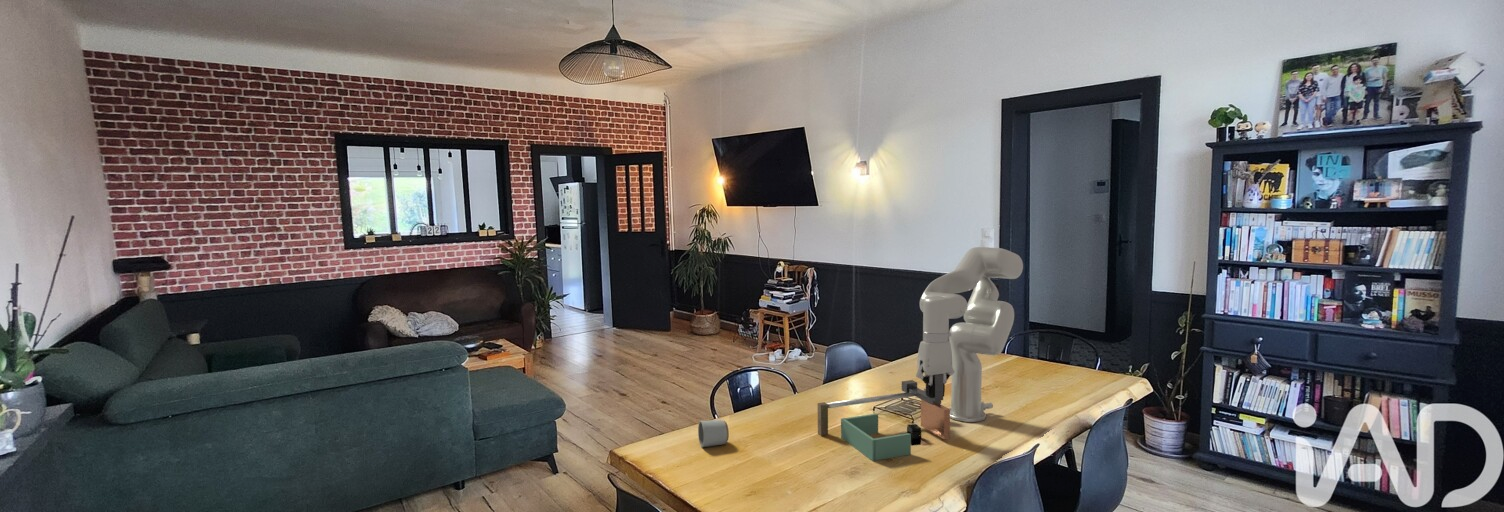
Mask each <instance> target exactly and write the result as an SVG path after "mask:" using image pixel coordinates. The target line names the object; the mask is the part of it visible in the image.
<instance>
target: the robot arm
mask: <svg viewBox="0 0 1504 512" xmlns="http://www.w3.org/2000/svg"><path fill="white" fill-rule="evenodd" d="M1023 269H1024V262H1023V260H1022V258H1021V257H1020V255H1019V254H1017V253H1015V252H1012V251H1011V250H1008V249H1006V248H1005V249H1004V248H1001V247H986V246H985V247H980V246H979V247H972V248H970V249H968V250H967V252H966V253H965V254H964V256H963V257H962V259H961V260H960V262H959V263H958V264H957V265H956V267H955V268H954V270H953V271H950V272H948V273H946V274H943V275H941V276H939V277H937V278H936V279H934V280H932V281H931V282H930V283H929V284H928V285H927V287H926V288H925V290H924V291H923V293H922V295H921V297H920V299H919V309H920V311H921V312H922V314H923V317H922V340H921V341H920V343H919V347H918V352H917V363H916V367H917V368H916V369H917V370H916V371H917V372H916V374H915V377H916V378H918V379H920V380H921V381H923V383H924V384H925V389H926V396H928V397H930V398H934V385H932V383H933V375H939V374H944V377H943V398H944V397H945V393H946V391H945V389H946V387H945V386H946V384H947V383H948V380H949V378H950V377H951V389H950V391H951V395H950V396H951V397H950V404H951V406H950V407H948V408H949V409H950V419H951V420H955V421H958V422H965V423H977V422H982V421H984V420H985V419H986V417H987V414H986V412H985V411H986V410H988V409H992V408H994V404H993V403H992V402H987V403H985V402H984V401H982V386H983V385H982V384H983V383H982V379H983V375H982V372H983V370H982V369H983V368H982V367H983V366H982V363H981V360H980V357H979V355H978V354H980V355H986V356H998V355H1000V354H1001V353H1002V352H1003V350H1004V348H1005V345H1006V344H1007V340H1008V338H1009V335H1010V333H1011V330H1012V328H1013V325H1014V321H1015V309H1014V308H1013V307H1014V306H1013V305H1012V304H1010V303H1009V302H1007V301H1002V300H999V297H1000V293H999V290H998V288H997V286H996V284H995V283H994V282H993V281H992V280H991V278H992V279H1007V280H1015V279H1018V278H1019V277H1020V276H1021V275H1022V273H1023ZM968 291H972V292H971V295H970V298H969V299H968V301H967V300H966V298H965V297H964V296H963V295H961V293H964V292H968ZM961 317H963V320H964V322H956V323H954V324H952V326H951V327H950V324H949V323H950V319H954V320H956V319H959V318H961ZM949 327H950V328H949ZM928 378H929V379H928Z"/></svg>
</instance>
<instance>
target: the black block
mask: <svg viewBox="0 0 1504 512" xmlns="http://www.w3.org/2000/svg"><path fill="white" fill-rule="evenodd" d="M906 433H910V434H911V447H912V446H921V445H922V446H923V445H929V443H928V442H927V441H926V440H925V439H924V438H923V437H922V427H921V426H919V425H918V424H917V423H911V424H907V427H906ZM906 433H903V434H906ZM900 434H901V433H898V435H900Z"/></svg>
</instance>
